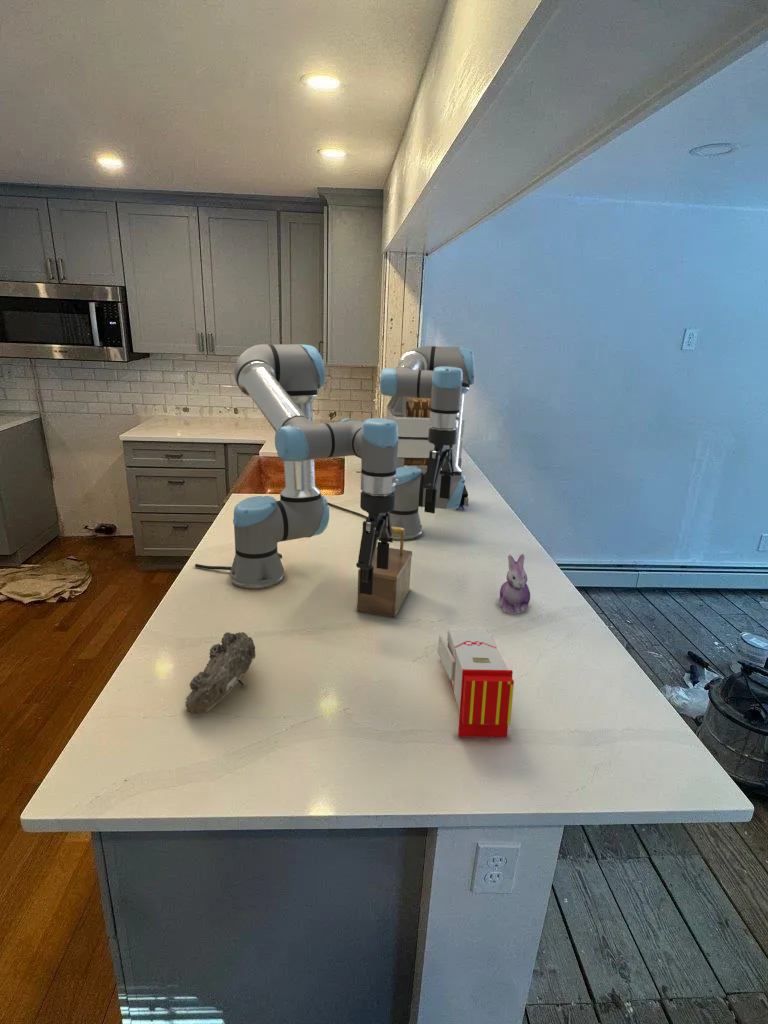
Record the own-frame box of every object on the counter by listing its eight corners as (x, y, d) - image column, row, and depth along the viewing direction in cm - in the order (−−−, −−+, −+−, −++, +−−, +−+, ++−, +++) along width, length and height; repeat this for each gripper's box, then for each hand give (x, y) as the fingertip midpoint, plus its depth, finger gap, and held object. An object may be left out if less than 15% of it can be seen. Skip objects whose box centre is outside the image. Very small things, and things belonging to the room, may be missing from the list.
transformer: (382, 463, 289) (386, 382, 275) (445, 464, 293) (451, 384, 279) (390, 482, 257) (394, 392, 243) (460, 483, 261) (468, 394, 247)
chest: (374, 584, 163) (376, 550, 159) (409, 590, 160) (411, 556, 157) (356, 610, 148) (358, 574, 145) (394, 617, 146) (396, 581, 142)
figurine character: (468, 514, 225) (463, 498, 239) (470, 497, 222) (465, 482, 235) (451, 514, 225) (447, 498, 238) (453, 497, 222) (449, 481, 235)
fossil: (206, 634, 127) (255, 603, 122) (236, 663, 130) (284, 634, 125) (163, 707, 107) (218, 674, 102) (199, 739, 110) (254, 708, 105)
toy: (488, 613, 130) (523, 677, 101) (484, 667, 133) (517, 744, 104) (435, 612, 130) (455, 676, 101) (432, 666, 133) (451, 743, 103)
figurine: (512, 619, 147) (519, 566, 142) (488, 601, 156) (494, 551, 151) (540, 611, 151) (548, 560, 146) (515, 594, 160) (522, 546, 155)
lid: (377, 549, 160) (378, 520, 157) (412, 555, 158) (414, 525, 155) (358, 574, 145) (359, 542, 142) (396, 581, 142) (398, 548, 139)
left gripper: (379, 511, 110) (375, 608, 117) (407, 478, 133) (402, 561, 140) (342, 507, 112) (341, 602, 119) (376, 475, 135) (373, 556, 142)
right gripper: (443, 438, 136) (436, 521, 143) (469, 422, 157) (462, 494, 165) (413, 434, 138) (408, 516, 145) (443, 419, 160) (437, 490, 167)
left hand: (374, 580), depth 129 cm, fingers open, 13 cm apart
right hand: (437, 505), depth 155 cm, fingers open, 13 cm apart
